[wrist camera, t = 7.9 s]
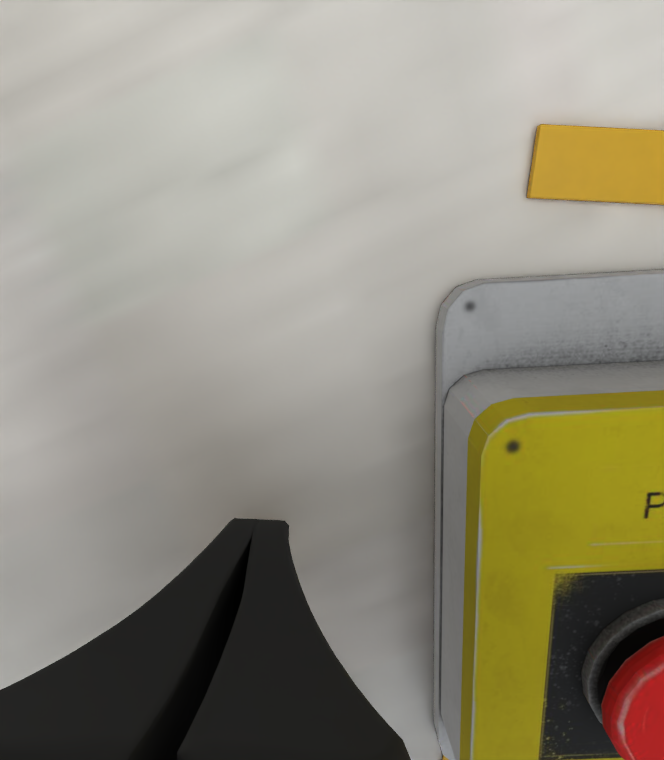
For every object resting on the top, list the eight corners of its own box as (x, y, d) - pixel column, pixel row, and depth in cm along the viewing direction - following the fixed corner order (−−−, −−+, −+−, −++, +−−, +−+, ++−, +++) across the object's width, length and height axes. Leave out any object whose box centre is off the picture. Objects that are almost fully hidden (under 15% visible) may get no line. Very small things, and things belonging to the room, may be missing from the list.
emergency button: (470, 932, 11) (496, 305, 7) (433, 746, 16) (436, 281, 12) (865, 919, 11) (1119, 270, 7) (719, 735, 16) (827, 260, 11)
